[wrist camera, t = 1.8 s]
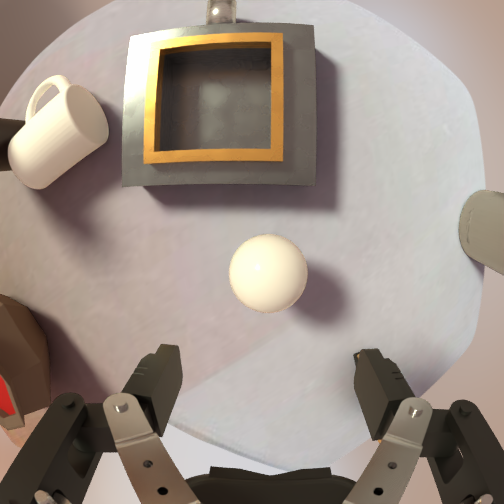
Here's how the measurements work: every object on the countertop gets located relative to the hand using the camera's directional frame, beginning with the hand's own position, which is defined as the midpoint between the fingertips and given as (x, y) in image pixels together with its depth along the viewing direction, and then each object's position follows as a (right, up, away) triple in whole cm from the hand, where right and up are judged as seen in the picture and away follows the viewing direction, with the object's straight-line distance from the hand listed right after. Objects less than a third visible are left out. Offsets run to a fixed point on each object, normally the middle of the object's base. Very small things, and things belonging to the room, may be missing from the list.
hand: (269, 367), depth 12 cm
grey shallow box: (-4, +22, +15) cm, 27 cm away
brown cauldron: (-40, -9, +26) cm, 49 cm away
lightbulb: (+1, +5, +20) cm, 20 cm away
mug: (-23, +20, +17) cm, 35 cm away
